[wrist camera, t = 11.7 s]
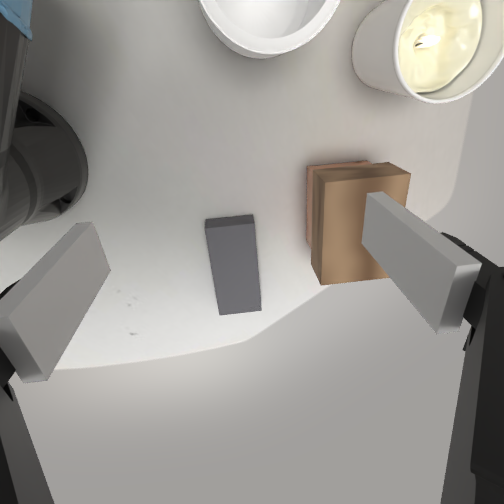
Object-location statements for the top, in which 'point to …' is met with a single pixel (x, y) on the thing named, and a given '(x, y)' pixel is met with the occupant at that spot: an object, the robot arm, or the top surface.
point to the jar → (266, 23)
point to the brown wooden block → (349, 219)
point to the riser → (234, 263)
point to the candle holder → (429, 47)
